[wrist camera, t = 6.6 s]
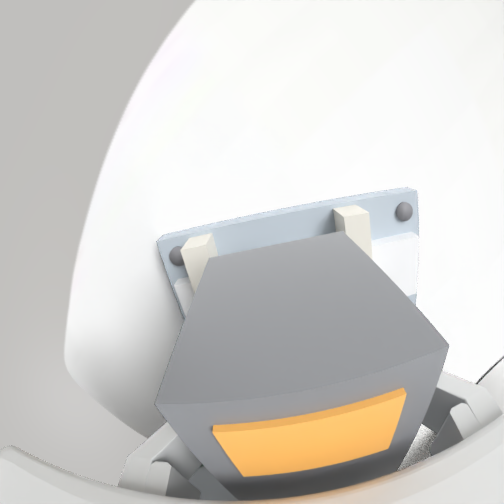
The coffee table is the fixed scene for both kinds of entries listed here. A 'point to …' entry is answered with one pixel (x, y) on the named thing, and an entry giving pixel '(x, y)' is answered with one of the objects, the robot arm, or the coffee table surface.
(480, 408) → the robot arm
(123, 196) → the coffee table surface
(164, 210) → the coffee table surface
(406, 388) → the module
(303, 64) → the coffee table surface
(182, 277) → the panel
